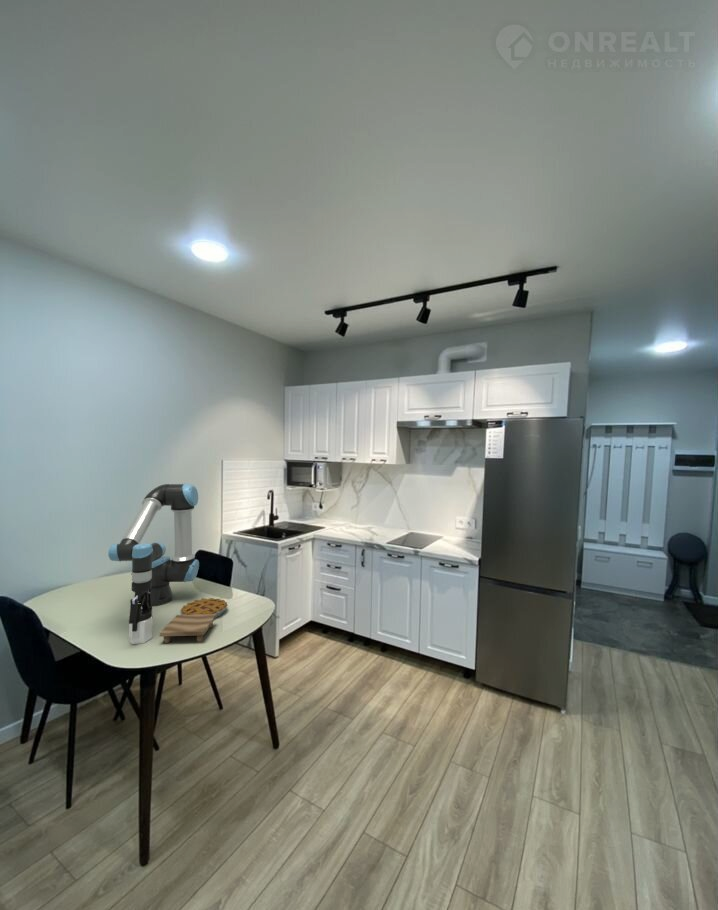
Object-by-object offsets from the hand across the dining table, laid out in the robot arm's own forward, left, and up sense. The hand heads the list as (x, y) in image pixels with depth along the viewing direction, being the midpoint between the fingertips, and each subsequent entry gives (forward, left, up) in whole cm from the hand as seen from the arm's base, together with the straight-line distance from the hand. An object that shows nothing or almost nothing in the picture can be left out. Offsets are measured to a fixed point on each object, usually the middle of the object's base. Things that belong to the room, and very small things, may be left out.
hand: (140, 633), depth 160 cm
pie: (-26, +18, -3) cm, 32 cm away
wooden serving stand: (-4, +19, -3) cm, 20 cm away
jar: (0, 0, -3) cm, 3 cm away
